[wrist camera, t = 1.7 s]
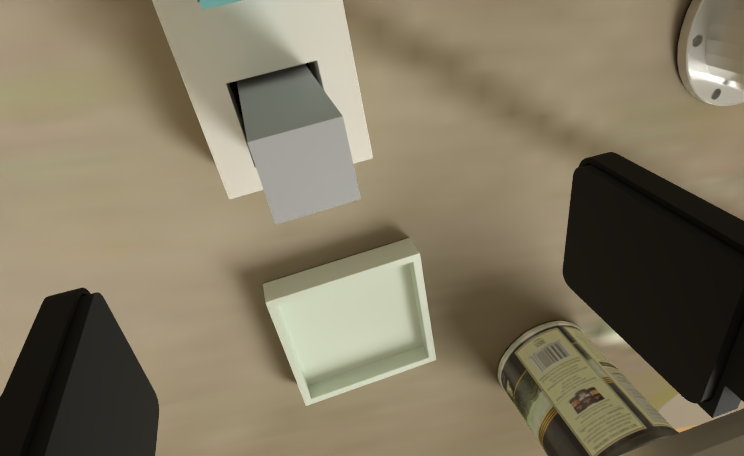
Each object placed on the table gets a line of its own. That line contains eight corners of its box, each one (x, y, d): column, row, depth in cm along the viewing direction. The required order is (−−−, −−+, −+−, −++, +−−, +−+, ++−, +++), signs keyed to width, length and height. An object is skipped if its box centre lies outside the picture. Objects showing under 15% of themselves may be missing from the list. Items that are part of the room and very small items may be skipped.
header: (107, -145, 23) (90, -158, 20) (291, -179, 25) (304, -197, 21) (227, 172, 33) (229, 199, 29) (356, 136, 34) (372, 158, 30)
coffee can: (537, 402, 56) (623, 526, 44) (477, 377, 51) (557, 510, 39) (602, 338, 53) (712, 452, 41) (546, 305, 48) (654, 424, 36)
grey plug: (299, 56, 30) (342, 116, 20) (314, 118, 32) (361, 199, 22) (235, 72, 30) (247, 142, 20) (255, 134, 32) (275, 224, 22)
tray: (409, 237, 39) (419, 253, 37) (426, 342, 46) (436, 359, 44) (262, 284, 38) (265, 302, 36) (302, 385, 44) (306, 405, 42)
